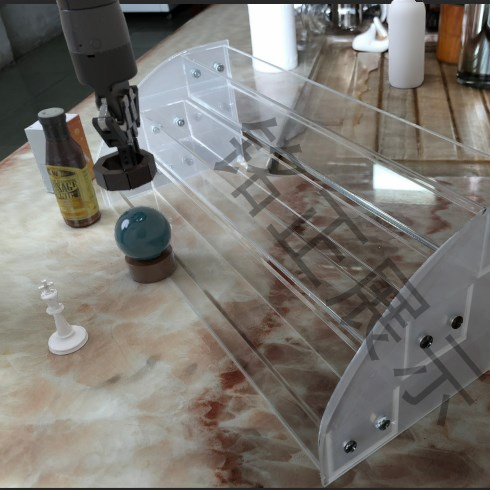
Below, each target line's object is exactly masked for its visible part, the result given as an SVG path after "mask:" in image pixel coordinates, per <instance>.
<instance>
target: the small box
mask: <svg viewBox="0 0 490 490" xmlns="http://www.w3.org/2000/svg"><path fill="white" fill-rule="evenodd" d="M65 114H66V122H67V125H68V129H69V132H70V133H71V134H70V135H71V137H72V138H73V139H74V140H75V141H76V142H77V143H78V144H79V145H80V146H81V148H82V150H83V154H84V157H85V160H86V162H87V166H88V169H89V173H90V176H91V180H94V178H95V175H94V172H93V169H92V167H93V166H94V164H95V163H94V160H93V157H92V154H91V149H90V147H89V144H88V140H87V137H86V132H85V130H84V126H83V123H82V120H81V116H80V114H79V113H66V112H65ZM24 133H25V136H26V138H27V142H28V143H29V146H30V148H31V149H30V150H31V152H32V154H33V158H34V160H35V163H36V166H37V168H38V171H39V174H40V177H41V179H42V182H43V185H44V187H45V190H46V192H47V193H51V194H55V193H54V190H53V187H52V184H51V181H50V177H49V174H48V172H47V168H46V165H45V157H46V139H45V134H44V131H43V128H42V125H41V124H40V123H39V119H38V120H37V121H35V122H34V123H33V124H31V125H29V126H28V127H26V128H24ZM95 179H96V178H95Z"/></svg>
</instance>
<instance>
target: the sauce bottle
mask: <svg viewBox="0 0 490 490" xmlns="http://www.w3.org/2000/svg"><path fill="white" fill-rule="evenodd" d="M65 113H66V111H65V109H64V108H61V107H49V108H46V109H43V110H40V111H39V112H38V113H37V119H38V120H39V123H40V124H41V125H42V128H43V131H44V134H45V139H46V157H45V165H46V168H47V172H48V174H49V177H50V181H51V184H52V187H53V190H54V193H53V194H54V195H55V196H54V197H55V199H56V202H57V205H58V209H59V211H60V214H61V216H62V218H63V221H64V223H65V224H66V225H67V226H69V227H73V228H77V227H79V228H80V227H87V226H89V225H92V224H93V223H94V222H96V221H97V220H98V219H99V218H100V215H101V210H100V206H99V205H100V204H99V201H98V197H97V194H96V190H95V187H94V184H93V181H92V180H93V179H92V180H91V176H90V173H89V169H88V166H87V162H86V160H85V157H84V154H83V150H82V148H81V146H80V145H79V144H78V143H77V142H76V141H75V140H74V139H73V138H72V137H71V135H70V134H71V133H70V132H69V129H68V125H67V122H66V114H65Z"/></svg>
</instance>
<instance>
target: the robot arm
mask: <svg viewBox="0 0 490 490" xmlns="http://www.w3.org/2000/svg"><path fill="white" fill-rule="evenodd" d="M55 1H56V5H57V7H58V9H57V10H58V12H59V18H60V23H61V28H62V32H63V35H64V39H65V42H66V44H67V48H68V52H69V55H70V58H71V62H72V65H73V69H74V72H75V75H76V79H77V81H78V83H79V84H81V85H83V86H85V87H90V88H91V89H92V90H93V91H94V92H93V94H94V103H95V107H96V110H97V111H98V117H97V116H96V117H92V118H91V124H92V127H93V128H94V130H95V131H96V133H98V135H99V136H100V138H101V139H102V140H103V142H104V143H105V145H106V146H107V147H108V148H109V149H113V148H116V151H118V153H119V157H120V160H121V164H122V167H123V169H124V170H126V169H128V168H131V167H133V166H136V165H138V164H139V162H138V158H137V154H136V150H135V149H141V148H140V144H139V139H138V137H139V130H138V129H139V128H141V112H140V99H139V97H140V96H139V87H138V85H137V84H132V85H130V81H131V80H132V79H134V78H135V77H136V76H137V74H138V71H139V70H138V65H137V61H136V57H135V54H134V50H133V45H132V39H131V37H130V32H129V29H128V23H127V21H126V17H125V14H124V12H123V10H122V7H121V4H120V0H55Z"/></svg>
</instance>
